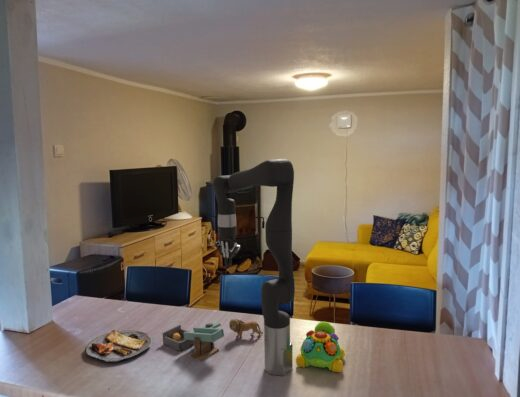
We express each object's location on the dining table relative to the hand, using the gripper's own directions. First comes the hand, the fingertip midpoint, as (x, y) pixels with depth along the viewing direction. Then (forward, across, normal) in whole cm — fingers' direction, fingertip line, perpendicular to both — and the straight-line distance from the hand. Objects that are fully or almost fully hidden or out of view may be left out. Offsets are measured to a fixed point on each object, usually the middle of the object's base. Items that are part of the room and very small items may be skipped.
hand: (228, 266), depth 169 cm
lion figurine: (+31, -6, -4) cm, 32 cm away
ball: (+29, +15, +16) cm, 36 cm away
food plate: (+32, +30, +33) cm, 55 cm away
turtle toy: (+31, -40, -7) cm, 51 cm away
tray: (+31, +13, +16) cm, 37 cm away
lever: (+25, -1, +11) cm, 27 cm away
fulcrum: (+31, -1, +16) cm, 35 cm away
